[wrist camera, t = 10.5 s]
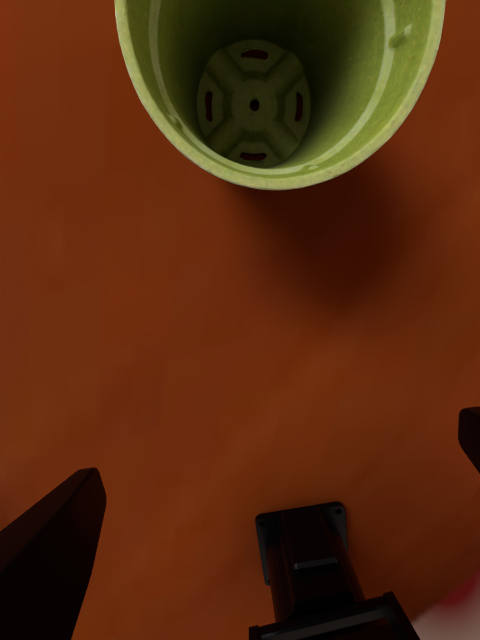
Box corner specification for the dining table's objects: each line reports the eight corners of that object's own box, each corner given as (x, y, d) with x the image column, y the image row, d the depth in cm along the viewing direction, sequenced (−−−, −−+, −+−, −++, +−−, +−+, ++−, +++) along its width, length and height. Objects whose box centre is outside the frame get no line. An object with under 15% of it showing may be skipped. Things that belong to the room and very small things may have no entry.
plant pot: (337, 202, 19) (427, 185, 11) (171, 207, 19) (134, 193, 11) (346, 2, 17) (470, -213, 9) (154, 3, 16) (88, -225, 8)
